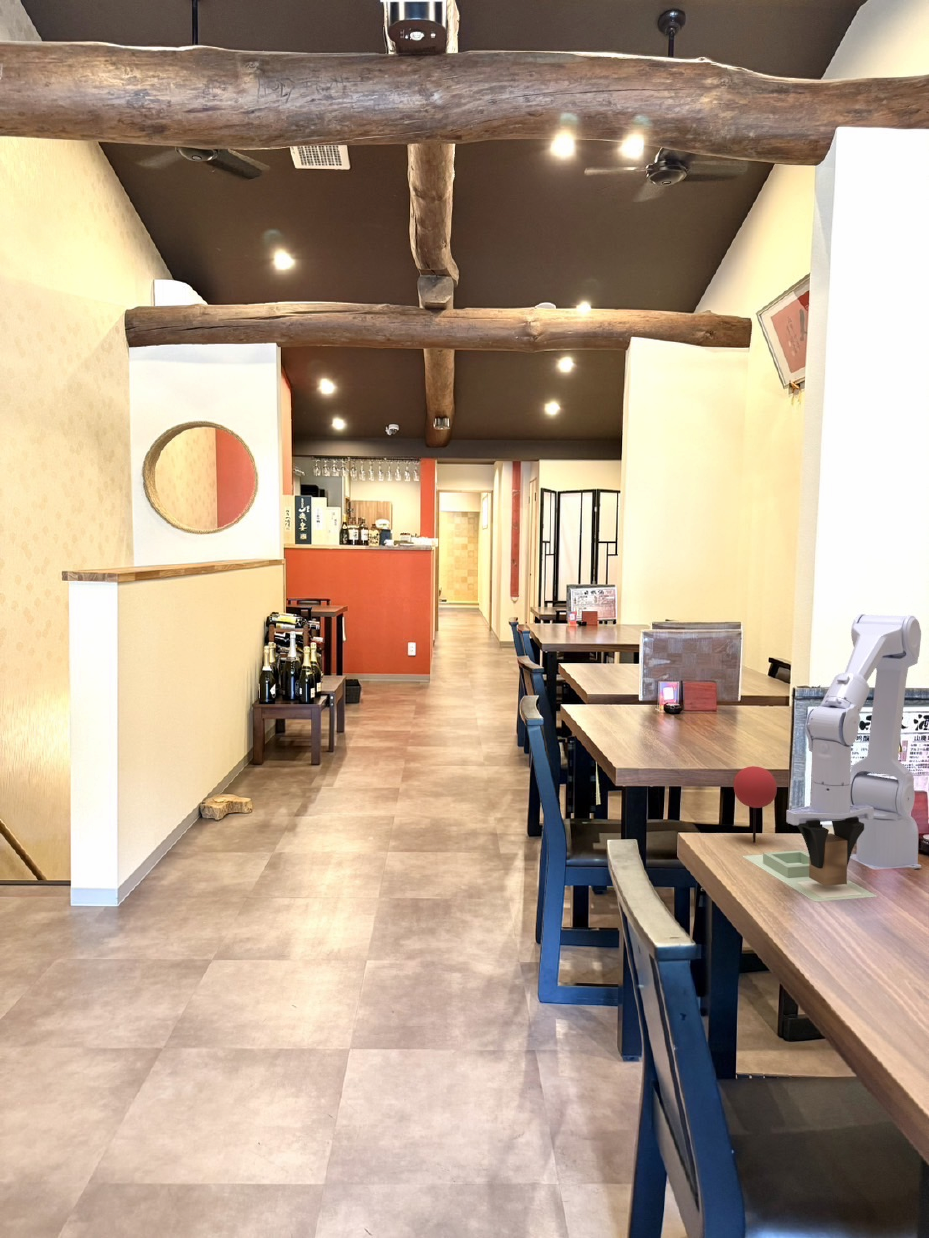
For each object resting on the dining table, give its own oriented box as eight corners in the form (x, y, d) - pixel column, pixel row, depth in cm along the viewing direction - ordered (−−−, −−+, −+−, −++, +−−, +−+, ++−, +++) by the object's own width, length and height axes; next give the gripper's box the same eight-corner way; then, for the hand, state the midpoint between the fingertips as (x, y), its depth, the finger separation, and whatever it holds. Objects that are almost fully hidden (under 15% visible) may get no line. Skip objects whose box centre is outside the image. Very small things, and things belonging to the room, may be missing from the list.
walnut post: (830, 875, 138) (831, 833, 138) (846, 883, 134) (847, 840, 134) (809, 877, 137) (809, 835, 137) (824, 885, 133) (825, 842, 133)
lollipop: (781, 851, 156) (782, 771, 155) (740, 851, 156) (741, 771, 155) (767, 838, 163) (768, 762, 163) (728, 838, 164) (728, 762, 163)
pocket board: (797, 855, 154) (797, 842, 154) (878, 900, 132) (878, 885, 132) (741, 859, 152) (741, 846, 152) (814, 905, 130) (815, 890, 130)
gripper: (853, 773, 140) (852, 853, 141) (775, 778, 137) (774, 860, 138) (883, 783, 133) (881, 867, 134) (802, 788, 130) (800, 875, 131)
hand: (829, 865), depth 135 cm, fingers closed on walnut post, 4 cm apart
